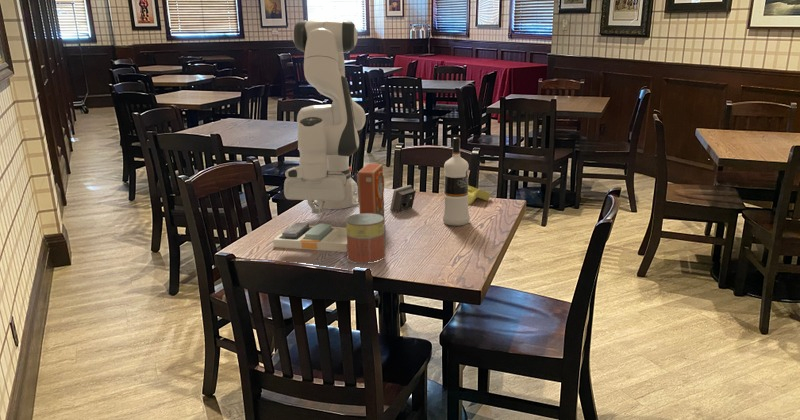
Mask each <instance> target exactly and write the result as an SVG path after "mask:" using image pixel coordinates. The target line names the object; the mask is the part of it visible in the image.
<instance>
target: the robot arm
mask: <svg viewBox="0 0 800 420" xmlns="http://www.w3.org/2000/svg"><path fill="white" fill-rule="evenodd" d="M357 30H358V29H357V27H356V25H355V24H354V23H353V22H352V21H350V20H346V19H343V20H339V19H331V18H329V19H327V18H325V19H313V20H306V19H305V20H299V21H297V23H296V24H295V25H294V28H293V30H292V40H293V44H294V47H295V48H296V49H297V50H298V51H300V52H302V53H304V56H303V58H304V59H303V71H304V72H303V73H304V77H305V80H306V81H307V83H308V84H309V85H310V86H312V87H313V88H315V89H316V91H317V92H318V93H319V94H321V95H323V96H325V97H327V98H329V99H330V100H331V101H332V103H331V104H313V105H309V106H304V107H301V108H300V110H299V111H298V113H297V116H296V122H297V127H298V128H297V147H298V152H299V162H298V163H299V165H296V166H295V165H294V166H293V167H291V168H288V169H287V170H285V172H284V175H285V177H286V178H285V180H284V183H283V193H284V198H286V199H287V200H299V201H307V204H308V206H309V207H310V209H311V214H313V215H314V214H315V215H321V214H322V213H323V209H330V210H338V209H346V208H350V207H358V206H359V203H358V190H357V181H355V180H354V179H353V178H352V173H351V172H352V170H353V169H352V168H353V167H352V166H349V165H350V164H349V157H351V156H353V154H355V153H356V152H357V151H358V150H359V147H360V137H359V134H358V131H360V130H362V129H363V128H364V127H365V124H366V121H367V120H366V119H367V118H366V116H367V115H366V113H365V110H364V108H363V107H362V106H361V105H360V104H358V103H357V102H356V101H354V100H353V98H352V96H351V90H350V85H349V82H348V80H347V78H346V68H345V65H346V64H345V55H344V54H348V52H352V51H353V50H354V49H355V48H356V45H357V43H358V38H359V37H358V35H359V34H358V31H357ZM315 205H317V206H315Z"/></svg>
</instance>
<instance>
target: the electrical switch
mask: <svg viewBox="0 0 800 420" xmlns="http://www.w3.org/2000/svg"><path fill="white" fill-rule="evenodd" d="M416 191H417V190H416V189H414V188H413V185H411V184H409V185H405V186H401V187H398V188H394V190H393V193H392V199H391V202H390V203H391V204H390V208H389V210H390V212H391V213H392V212H396V213H397V214H400V213H403V212H405V211H409V210H412V208H413V206H414V205H413V204H414V201H415V196H416ZM402 211H403V212H402ZM399 212H400V213H399Z"/></svg>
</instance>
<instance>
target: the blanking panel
mask: <svg viewBox="0 0 800 420" xmlns="http://www.w3.org/2000/svg"><path fill="white" fill-rule="evenodd" d="M314 226H315V227H313V228H312V229H311V230H310V231H308V232H307V233H306V234H305V239H310V240H320V241H321V240H322V239H323V238H324V237H326V236H327V235H328V234H329V233H330V232H331V231H332V229H331V227H332V224H331V223H330V224H329V223H317V224H316V225H314Z"/></svg>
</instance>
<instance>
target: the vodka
mask: <svg viewBox="0 0 800 420" xmlns="http://www.w3.org/2000/svg"><path fill="white" fill-rule="evenodd" d="M469 167H470V166H469V163H468V161H467V160H466V159H464V158H462V157H461V137H457V136H456V137H453V138H452V157H450V158H449V159H447V160H446V161H445V162H444V165H443V168H444V169H443V170H444V173H443V175H444V209H443V211H444V212H443V216H442V221H443V223H444V224H445V225H447V226H452V227H463V226H465V225H468V224H469V223H470V221H471V220H470V219H471V216H470V213H469V205H468V197H469V195H468V185H469Z"/></svg>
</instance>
